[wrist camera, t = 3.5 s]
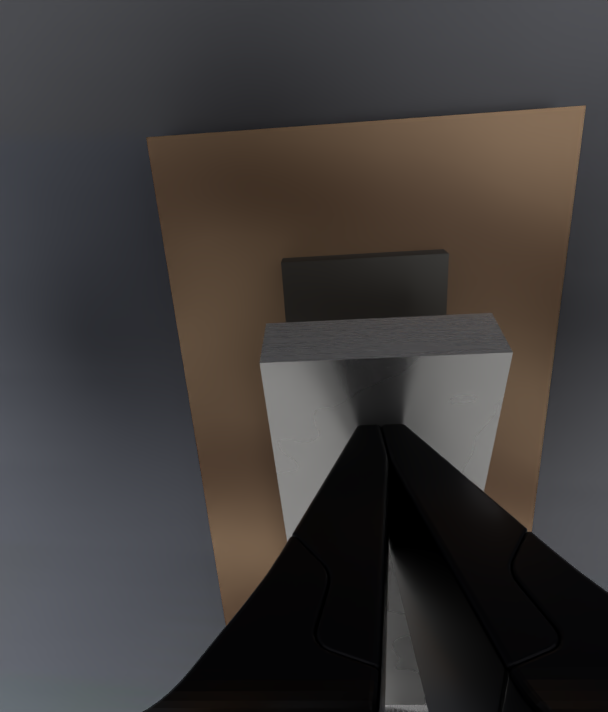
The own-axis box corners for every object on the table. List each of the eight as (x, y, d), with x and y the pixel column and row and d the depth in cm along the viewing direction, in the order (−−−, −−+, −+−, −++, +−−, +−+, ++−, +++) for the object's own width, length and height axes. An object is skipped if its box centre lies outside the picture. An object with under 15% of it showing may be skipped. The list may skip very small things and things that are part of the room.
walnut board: (496, 671, 20) (526, 765, 17) (245, 672, 20) (231, 762, 17) (557, 111, 13) (631, 96, 9) (165, 139, 13) (116, 134, 10)
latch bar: (435, 674, 17) (443, 721, 16) (309, 674, 18) (308, 720, 17) (502, 309, 9) (527, 356, 8) (255, 321, 9) (246, 367, 8)
